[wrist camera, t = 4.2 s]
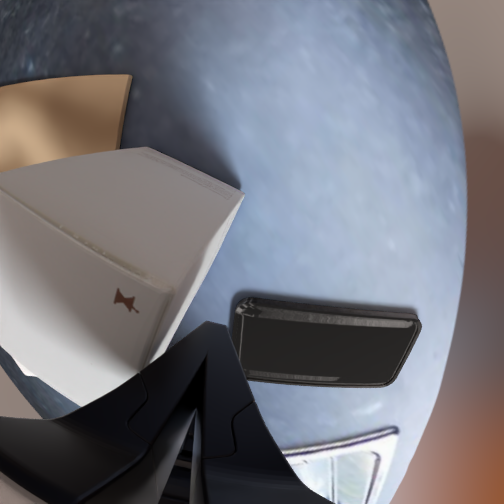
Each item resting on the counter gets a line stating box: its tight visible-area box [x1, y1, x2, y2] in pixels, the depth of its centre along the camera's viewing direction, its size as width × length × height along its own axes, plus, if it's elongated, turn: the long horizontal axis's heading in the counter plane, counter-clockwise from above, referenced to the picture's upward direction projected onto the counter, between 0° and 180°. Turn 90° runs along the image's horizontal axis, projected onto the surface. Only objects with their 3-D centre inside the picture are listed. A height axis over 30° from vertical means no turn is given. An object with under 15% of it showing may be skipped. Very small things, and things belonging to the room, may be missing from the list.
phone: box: [232, 297, 422, 388], centre depth 22 cm, size 8×1×15 cm
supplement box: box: [0, 147, 245, 407], centre depth 13 cm, size 7×7×13 cm
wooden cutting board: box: [0, 75, 133, 173], centre depth 18 cm, size 18×17×1 cm
